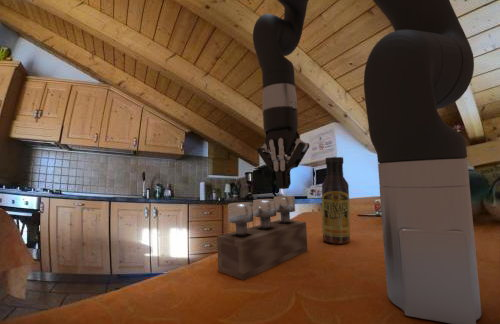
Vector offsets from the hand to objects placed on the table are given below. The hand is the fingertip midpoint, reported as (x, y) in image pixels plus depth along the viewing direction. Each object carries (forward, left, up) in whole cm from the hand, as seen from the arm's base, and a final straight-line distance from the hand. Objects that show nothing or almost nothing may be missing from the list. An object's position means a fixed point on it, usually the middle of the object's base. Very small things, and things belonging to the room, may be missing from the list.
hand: (283, 188), depth 54 cm
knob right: (0, 0, -9) cm, 9 cm away
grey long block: (-6, +2, -13) cm, 15 cm away
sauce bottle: (+11, -9, -14) cm, 19 cm away
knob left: (-13, +4, -9) cm, 16 cm away
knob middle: (-6, +2, -9) cm, 11 cm away
